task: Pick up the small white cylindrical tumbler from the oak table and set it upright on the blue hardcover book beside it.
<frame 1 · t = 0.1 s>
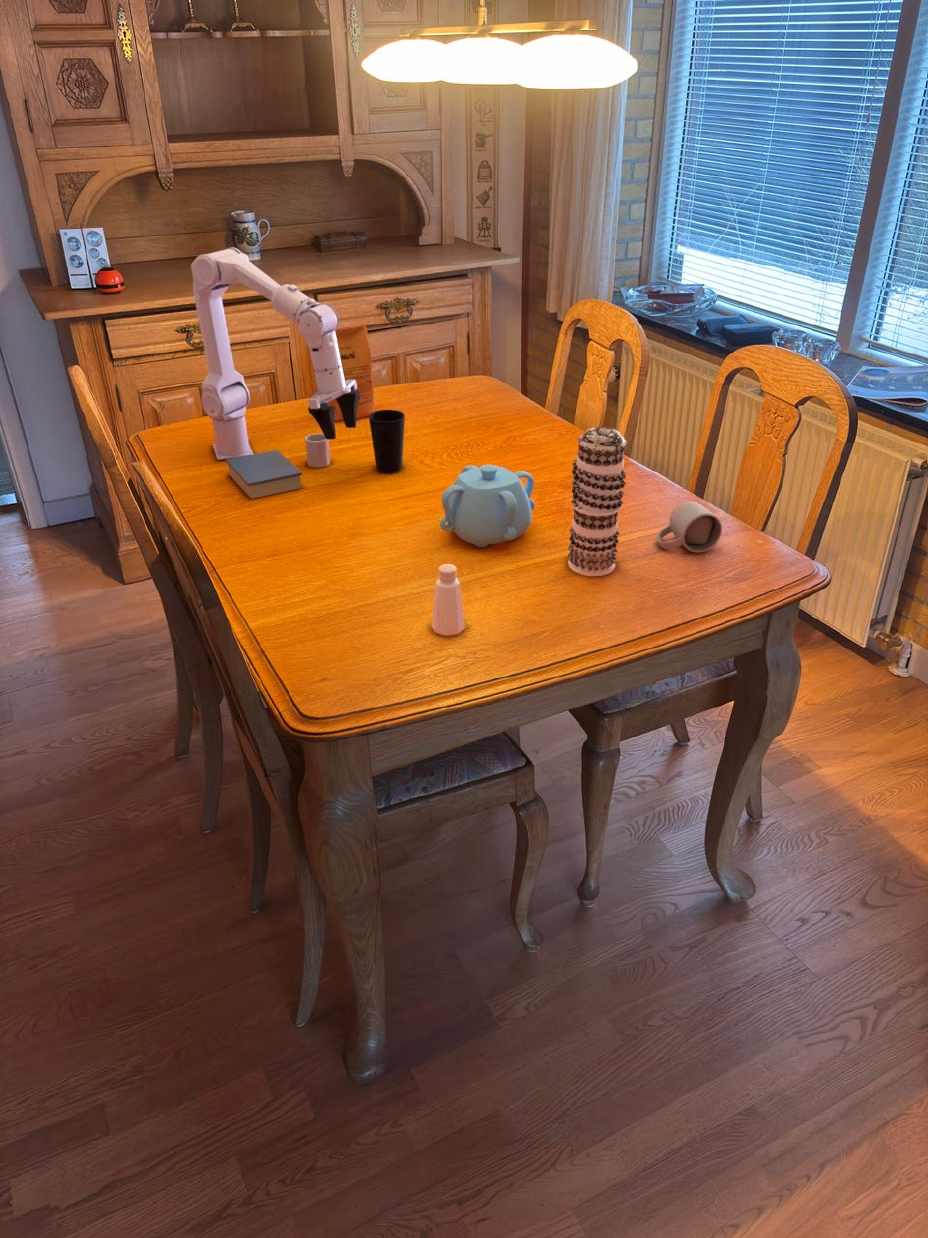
hand: (341, 432, 194), 10 cm above the table, tool pointing down, fingers open, 7 cm apart
ceramic mug: (685, 545, 174), on the table
blue hardcover book: (265, 481, 198), on the table
cup: (389, 468, 205), on the table
salt shaker: (448, 628, 149), on the table
coffee package: (349, 414, 234), on the table
white cylindrical tumbler: (318, 463, 207), on the table
decorative pot: (487, 534, 178), on the table
decorative candle: (591, 565, 167), on the table
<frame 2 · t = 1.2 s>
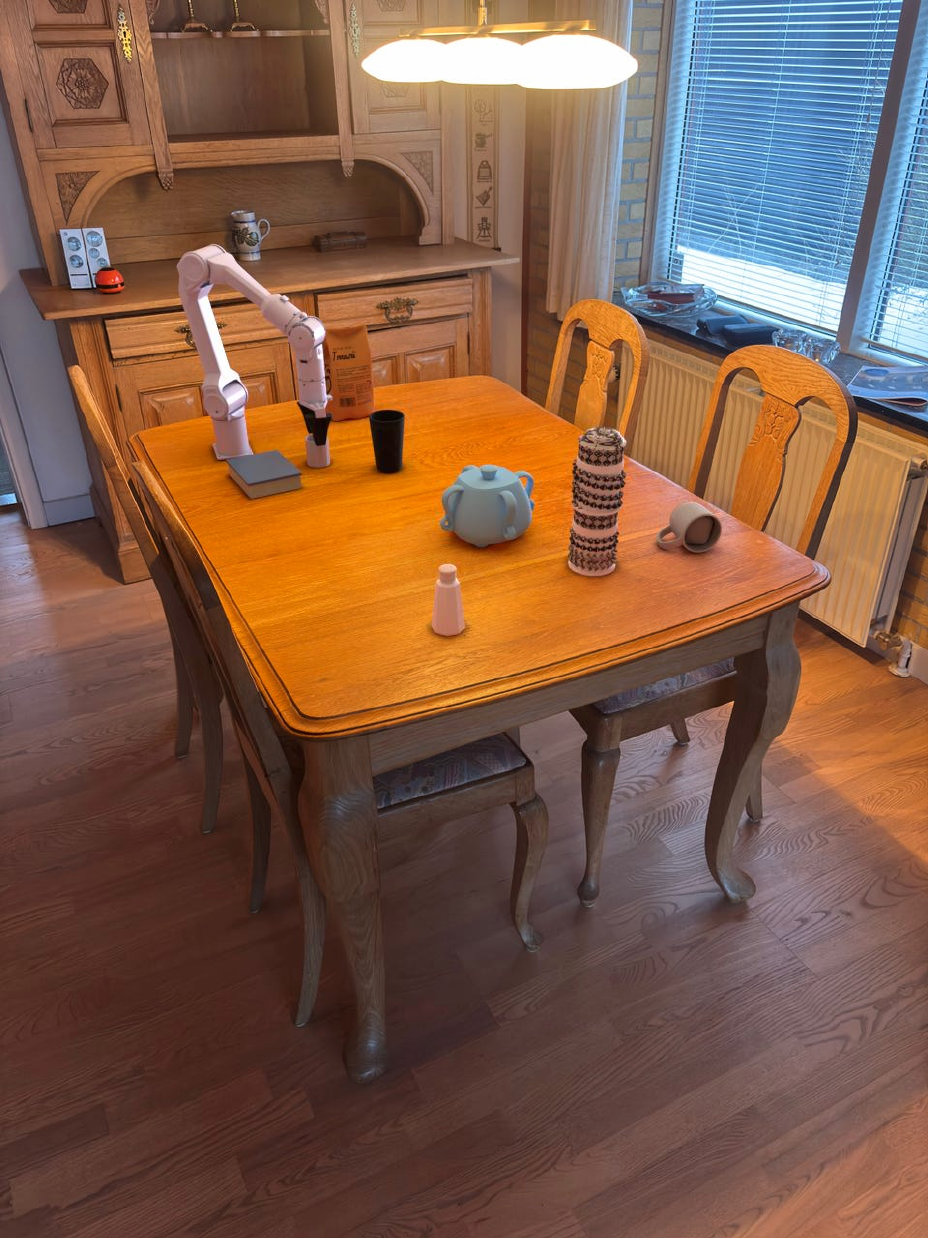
hand: (316, 438, 204), 6 cm above the table, tool pointing down, fingers open, 7 cm apart
nothing on the table moved.
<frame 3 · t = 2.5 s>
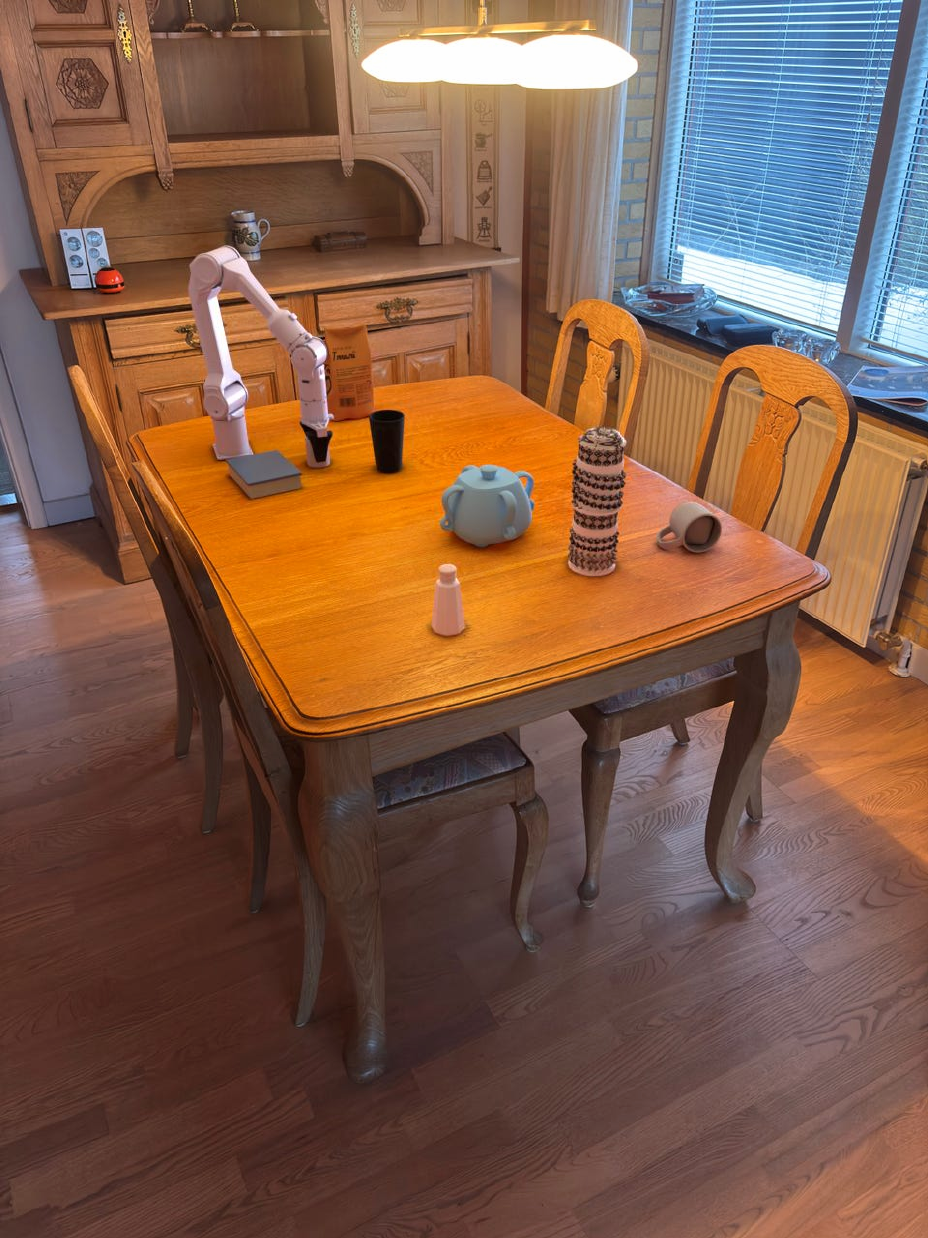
hand: (318, 456, 206), 2 cm above the table, tool pointing down, fingers closed on white cylindrical tumbler, 5 cm apart
white cylindrical tumbler: (318, 463, 207), on the table, touching gripper
everything else where it was.
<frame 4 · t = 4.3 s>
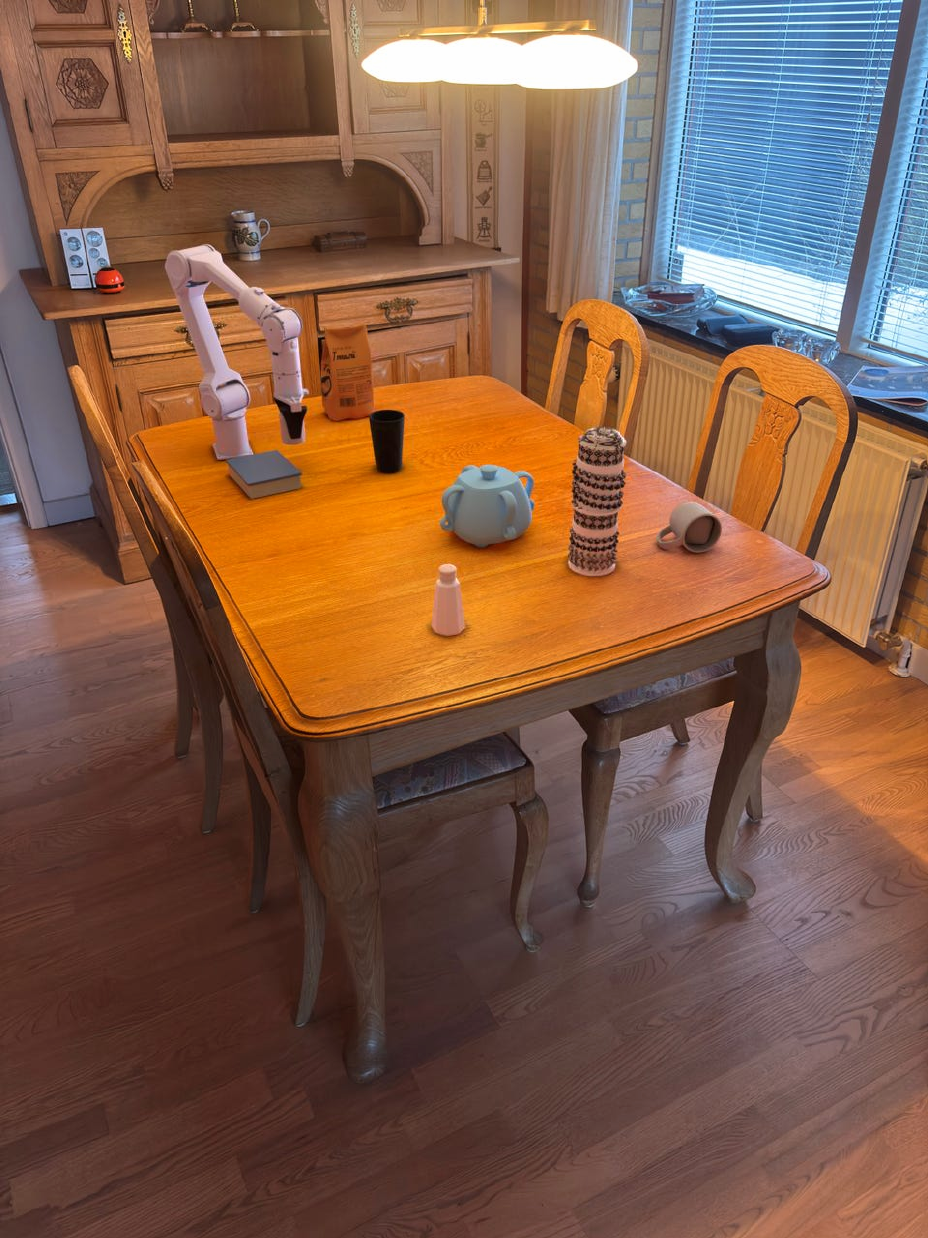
hand: (293, 433, 199), 8 cm above the table, tool pointing down, fingers closed on white cylindrical tumbler, 5 cm apart
white cylindrical tumbler: (293, 440, 200), point 7 cm above the table, touching gripper
everything else where it was.
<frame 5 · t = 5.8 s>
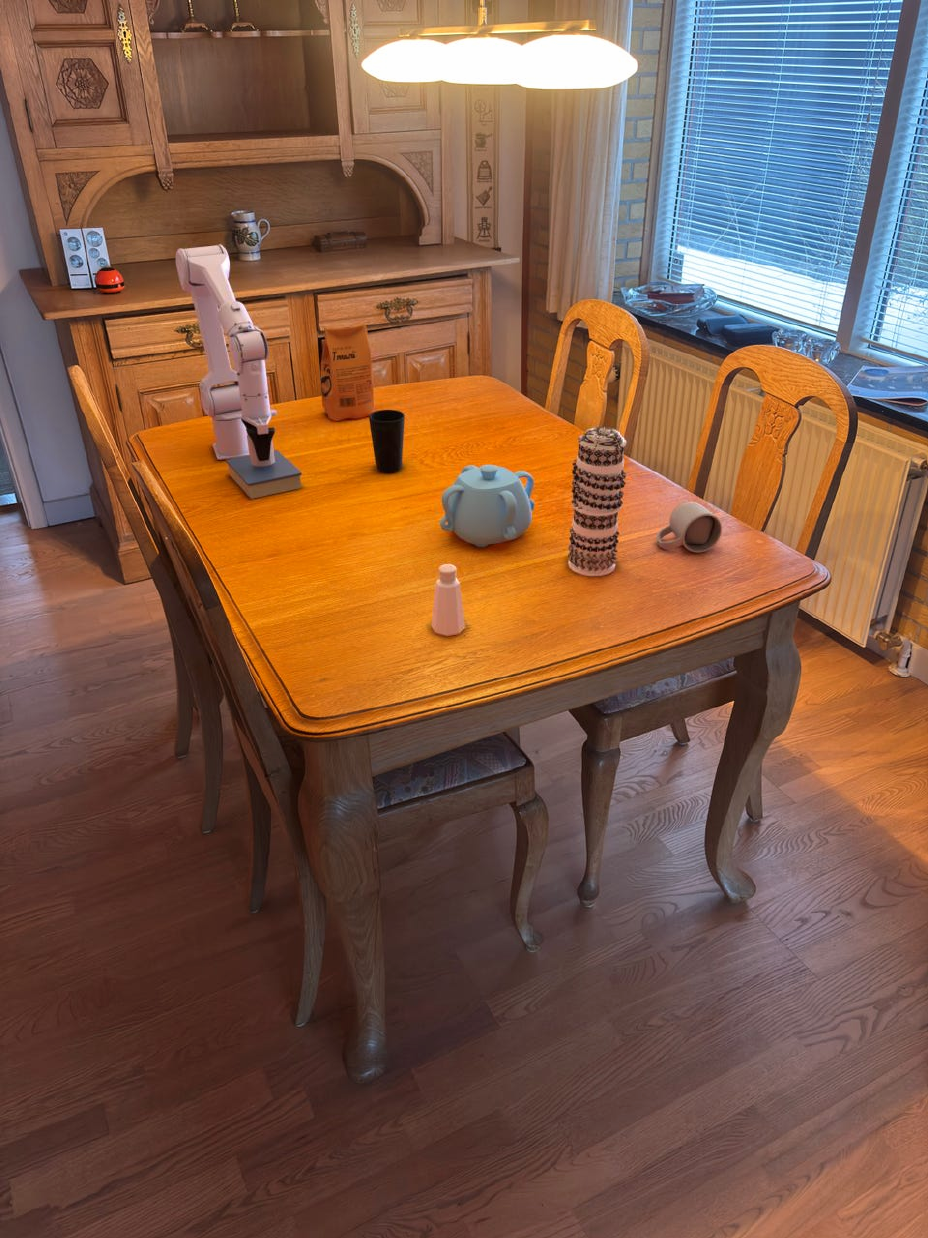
hand: (261, 455, 195), 6 cm above the table, tool pointing down, fingers closed on white cylindrical tumbler, 5 cm apart
white cylindrical tumbler: (262, 461, 196), point 4 cm above the table, touching gripper
everything else where it was.
when the fingers open (5 cm above the table, at t = 6.6 s): white cylindrical tumbler stays where it is, resting on blue hardcover book.
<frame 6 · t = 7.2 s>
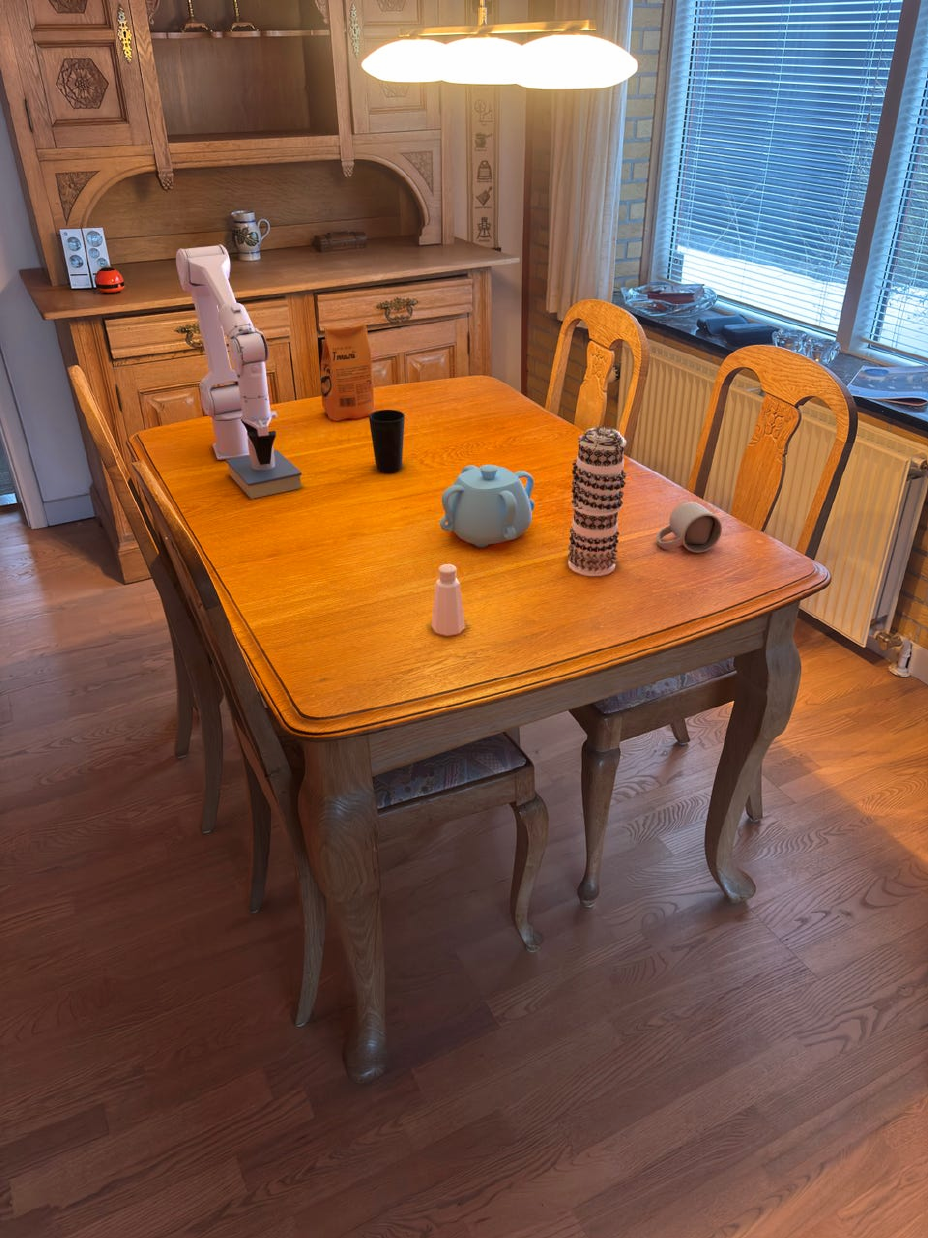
hand: (261, 457, 195), 6 cm above the table, tool pointing down, fingers open, 7 cm apart
blue hardcover book: (265, 481, 198), on the table, touching white cylindrical tumbler
white cylindrical tumbler: (263, 465, 196), point 4 cm above the table, touching blue hardcover book
everything else where it was.
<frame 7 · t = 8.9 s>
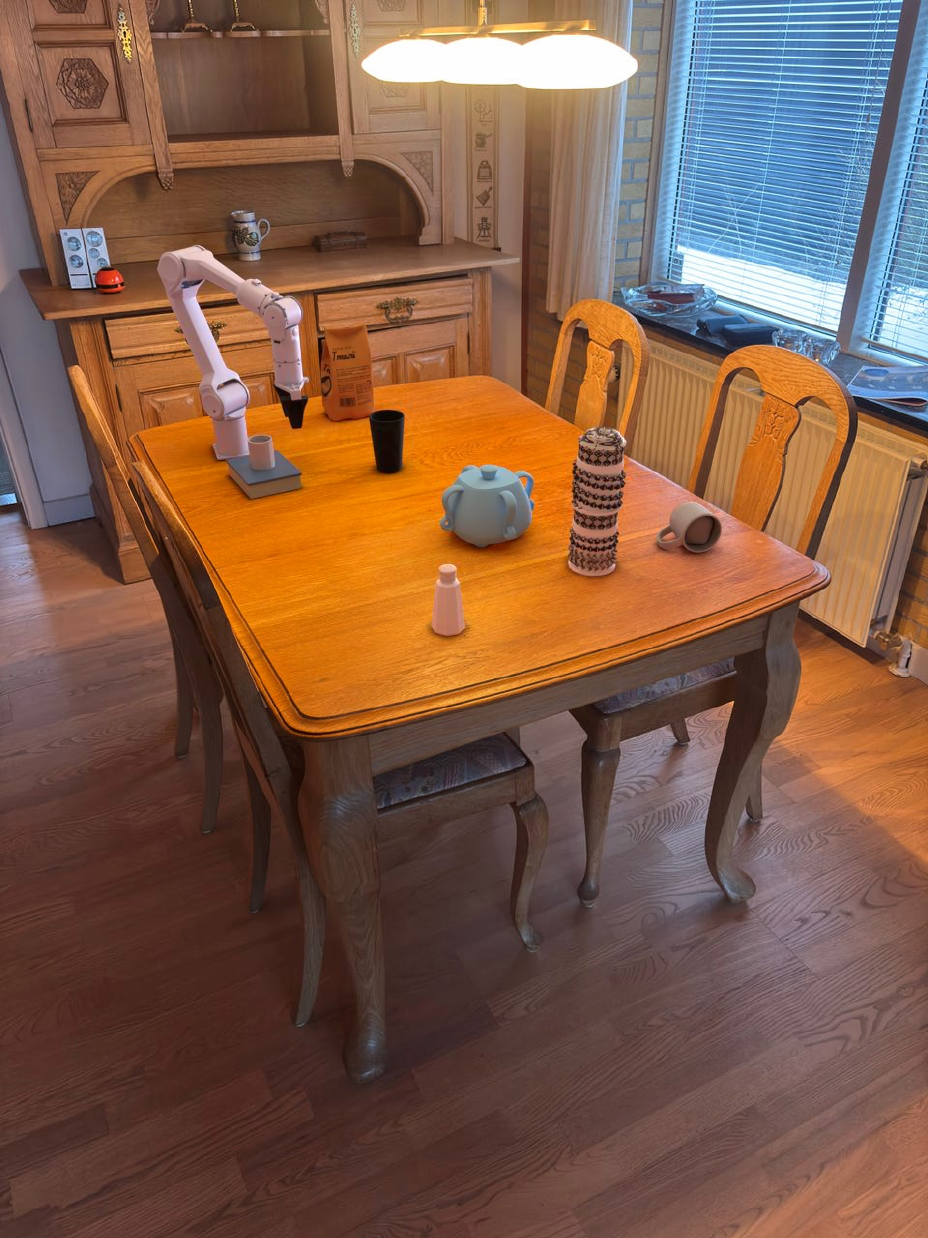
hand: (293, 422, 200), 10 cm above the table, tool pointing down, fingers open, 7 cm apart
nothing on the table moved.
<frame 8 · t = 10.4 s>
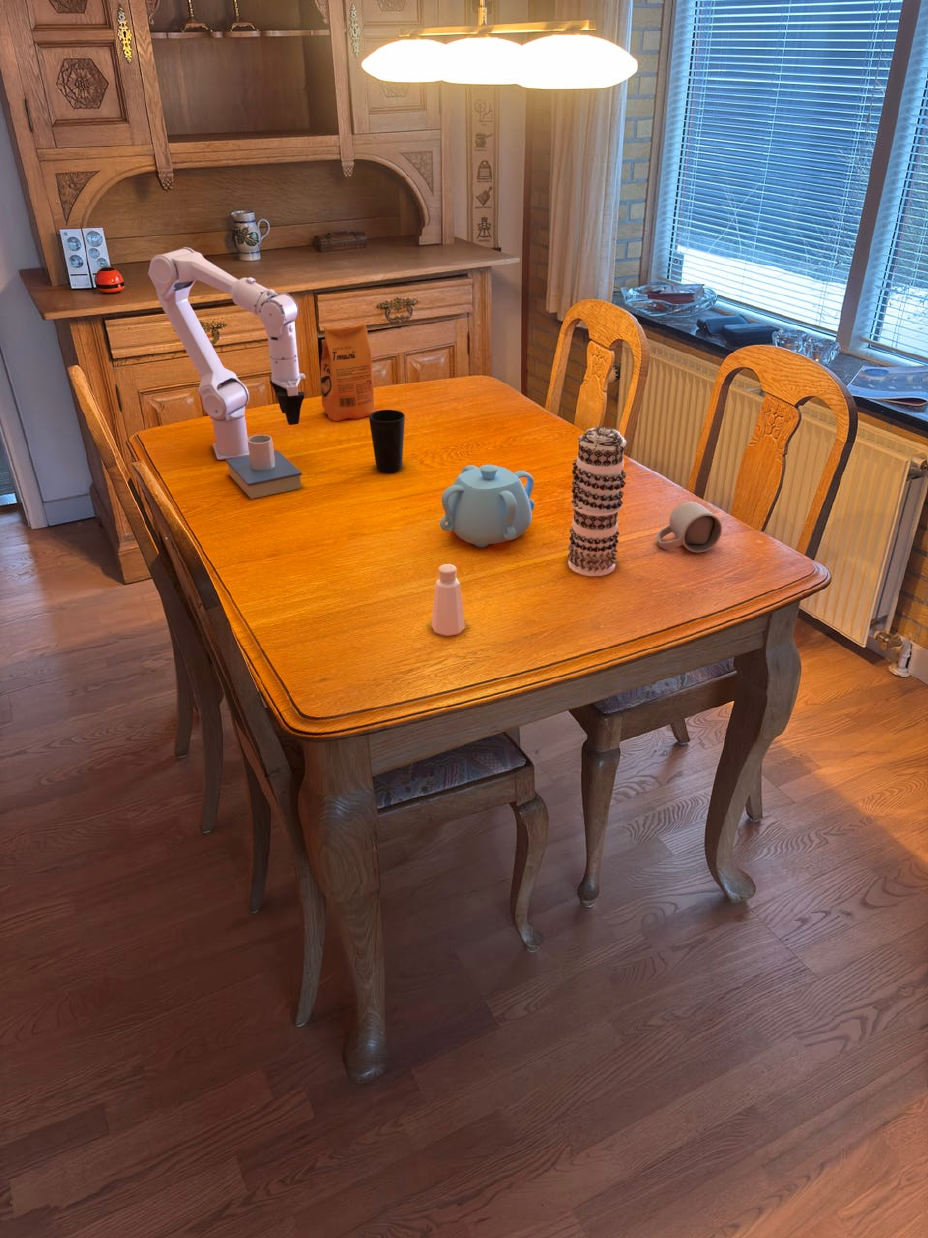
hand: (290, 418, 202), 10 cm above the table, tool pointing down, fingers open, 7 cm apart
nothing on the table moved.
at the end: white cylindrical tumbler inside the target area on the blue hardcover book (0.0 cm from its centre), point 3.6 cm above the blue hardcover book's base; white cylindrical tumbler tilted 0°; the gripper is holding nothing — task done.
